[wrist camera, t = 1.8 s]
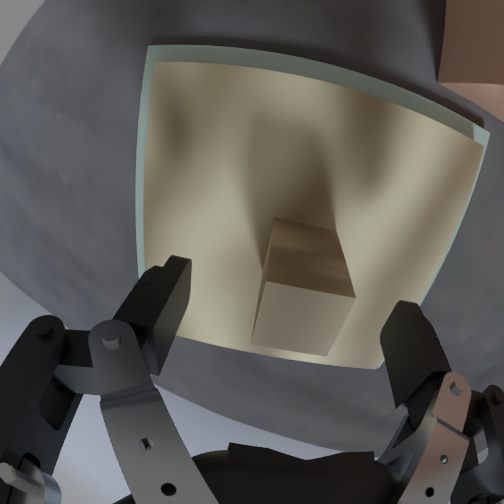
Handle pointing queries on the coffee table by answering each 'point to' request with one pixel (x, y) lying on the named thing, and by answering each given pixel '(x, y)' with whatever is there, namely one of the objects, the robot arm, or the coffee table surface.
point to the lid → (297, 207)
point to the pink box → (475, 53)
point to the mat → (296, 68)
